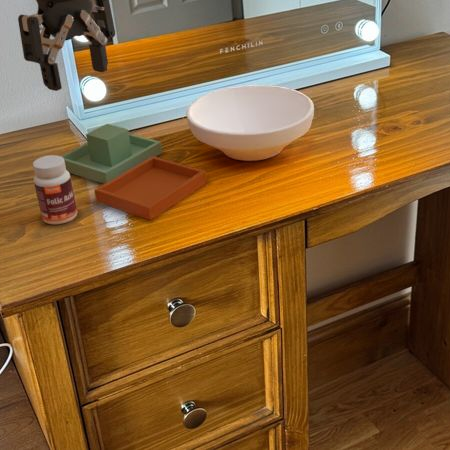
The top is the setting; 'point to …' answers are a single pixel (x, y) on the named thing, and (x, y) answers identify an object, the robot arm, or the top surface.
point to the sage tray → (84, 167)
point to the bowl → (250, 120)
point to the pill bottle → (54, 190)
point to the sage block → (109, 145)
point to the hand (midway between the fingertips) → (78, 79)
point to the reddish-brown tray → (151, 187)
